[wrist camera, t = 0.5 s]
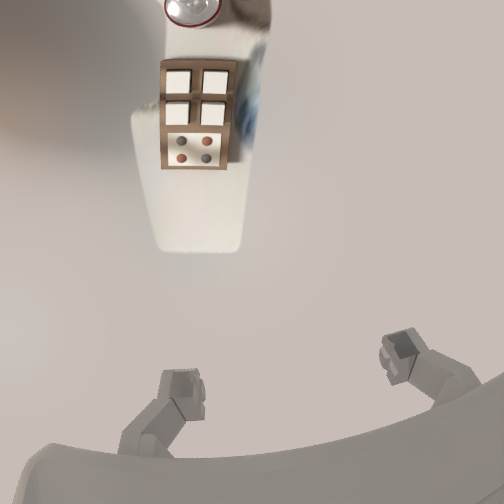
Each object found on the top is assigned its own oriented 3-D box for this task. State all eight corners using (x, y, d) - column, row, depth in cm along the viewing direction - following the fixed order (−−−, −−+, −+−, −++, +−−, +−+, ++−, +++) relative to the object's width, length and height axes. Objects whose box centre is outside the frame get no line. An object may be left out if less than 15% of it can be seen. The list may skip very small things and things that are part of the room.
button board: (163, 59, 40) (160, 61, 37) (235, 60, 41) (236, 62, 39) (163, 162, 53) (160, 170, 51) (225, 162, 55) (226, 170, 52)
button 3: (202, 100, 44) (202, 104, 42) (224, 101, 44) (224, 105, 43) (201, 120, 46) (201, 124, 44) (222, 121, 47) (223, 125, 45)
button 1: (168, 101, 43) (165, 104, 41) (189, 100, 44) (188, 104, 42) (167, 120, 45) (165, 124, 44) (188, 120, 46) (187, 124, 44)
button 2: (169, 70, 39) (166, 72, 38) (191, 70, 40) (189, 71, 38) (168, 90, 42) (166, 93, 40) (190, 90, 42) (188, 93, 40)
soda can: (230, 6, 35) (234, -2, 26) (200, 36, 38) (195, 37, 29) (195, -17, 31) (190, -31, 22) (166, 14, 34) (151, 9, 25)
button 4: (204, 70, 40) (204, 72, 38) (227, 70, 41) (227, 72, 39) (203, 90, 43) (202, 93, 41) (225, 91, 43) (225, 93, 41)
